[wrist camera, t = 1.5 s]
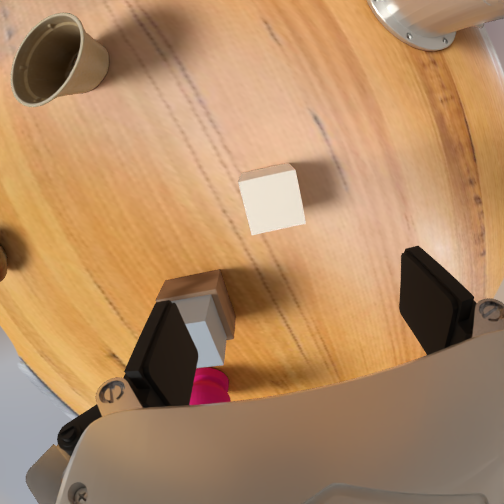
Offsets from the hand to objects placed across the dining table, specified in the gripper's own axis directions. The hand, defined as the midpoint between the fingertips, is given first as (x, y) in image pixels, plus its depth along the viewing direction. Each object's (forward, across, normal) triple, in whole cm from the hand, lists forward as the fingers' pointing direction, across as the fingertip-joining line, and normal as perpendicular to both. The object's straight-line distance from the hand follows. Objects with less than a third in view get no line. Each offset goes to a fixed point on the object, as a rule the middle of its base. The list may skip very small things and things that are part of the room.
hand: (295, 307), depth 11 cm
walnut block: (+20, +11, +11) cm, 26 cm away
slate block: (+16, +11, +11) cm, 22 cm away
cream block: (+20, 0, 0) cm, 20 cm away
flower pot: (+20, +16, -20) cm, 33 cm away
